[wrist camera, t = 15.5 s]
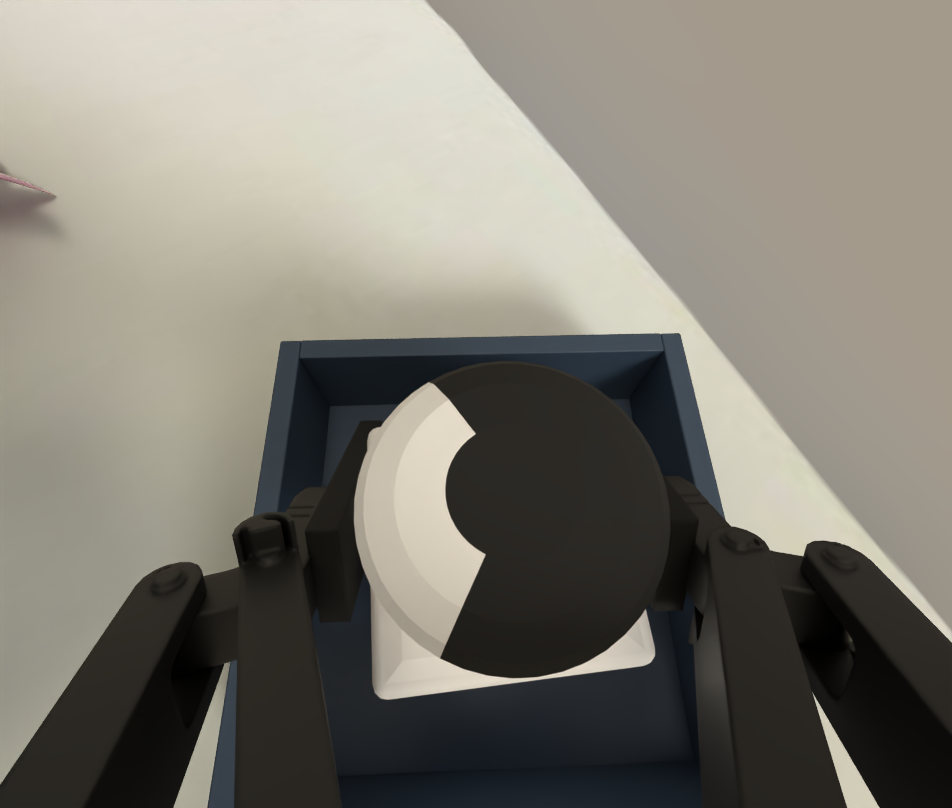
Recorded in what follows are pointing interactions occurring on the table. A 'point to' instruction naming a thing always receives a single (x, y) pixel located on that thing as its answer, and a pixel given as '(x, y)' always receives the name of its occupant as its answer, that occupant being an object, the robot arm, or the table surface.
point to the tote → (509, 705)
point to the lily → (21, 182)
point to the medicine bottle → (508, 532)
